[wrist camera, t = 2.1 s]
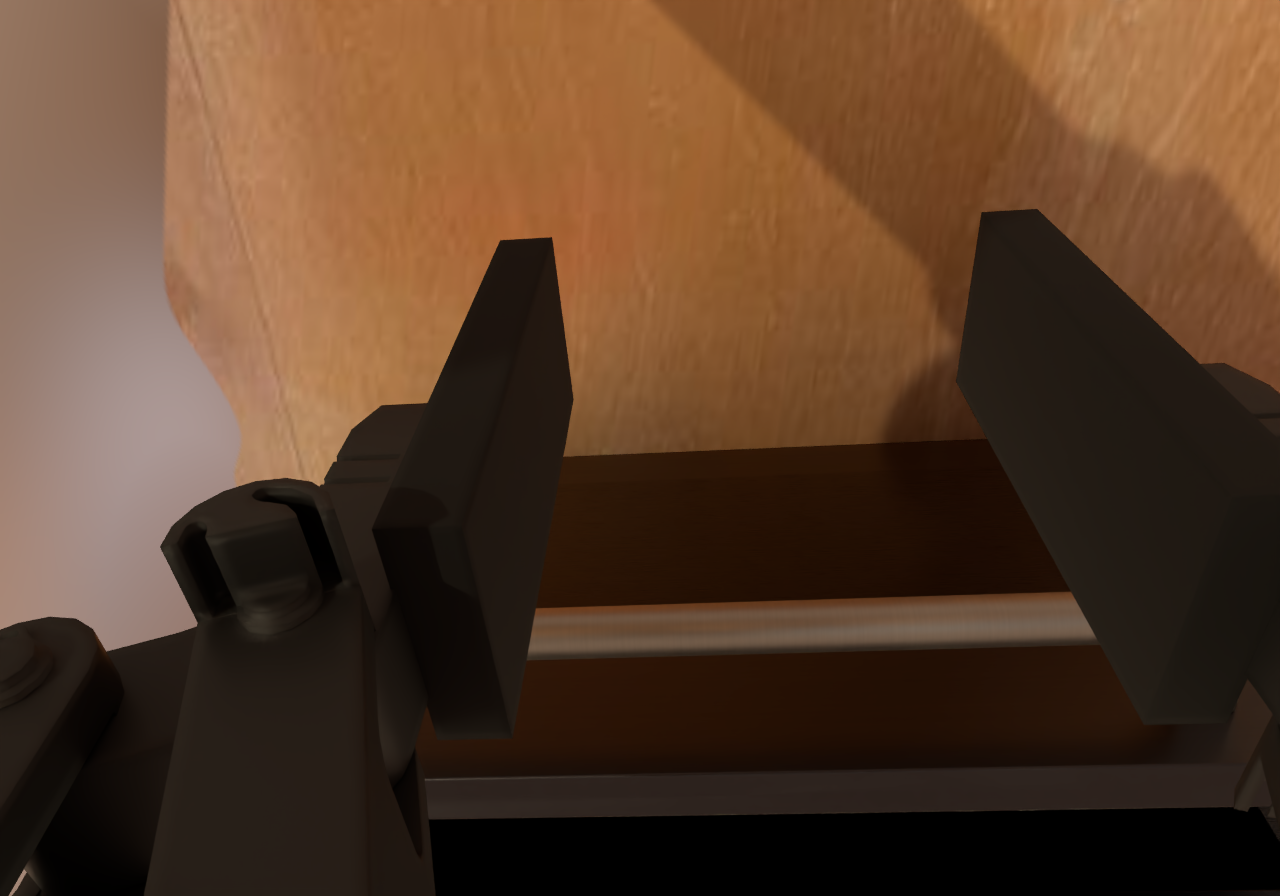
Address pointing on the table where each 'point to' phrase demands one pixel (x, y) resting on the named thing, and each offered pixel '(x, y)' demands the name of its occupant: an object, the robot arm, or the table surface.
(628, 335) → the table surface
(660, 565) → the oven door
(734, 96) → the table surface
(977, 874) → the oven
